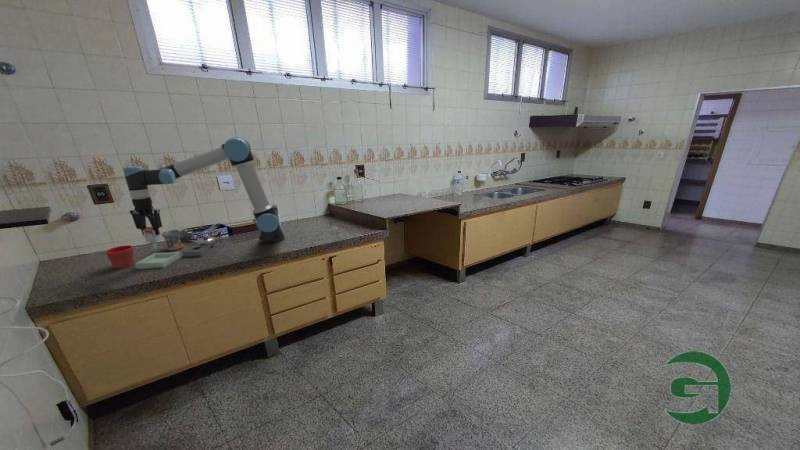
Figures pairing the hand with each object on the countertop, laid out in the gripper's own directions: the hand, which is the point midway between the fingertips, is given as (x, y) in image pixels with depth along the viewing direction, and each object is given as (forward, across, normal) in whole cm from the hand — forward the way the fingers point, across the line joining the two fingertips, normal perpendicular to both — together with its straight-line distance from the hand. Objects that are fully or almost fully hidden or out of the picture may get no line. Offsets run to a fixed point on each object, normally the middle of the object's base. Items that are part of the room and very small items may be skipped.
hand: (153, 240), depth 158 cm
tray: (+13, 0, 0) cm, 13 cm away
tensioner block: (+13, -13, -17) cm, 25 cm away
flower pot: (+13, +17, +2) cm, 21 cm away
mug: (+13, +6, -22) cm, 26 cm away
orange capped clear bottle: (+5, 0, 0) cm, 5 cm away
